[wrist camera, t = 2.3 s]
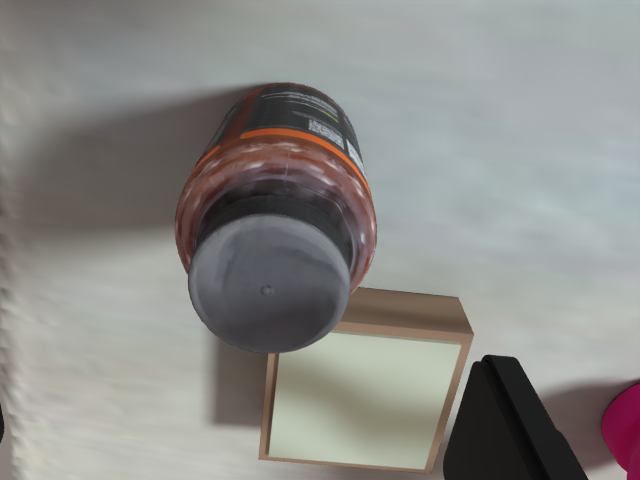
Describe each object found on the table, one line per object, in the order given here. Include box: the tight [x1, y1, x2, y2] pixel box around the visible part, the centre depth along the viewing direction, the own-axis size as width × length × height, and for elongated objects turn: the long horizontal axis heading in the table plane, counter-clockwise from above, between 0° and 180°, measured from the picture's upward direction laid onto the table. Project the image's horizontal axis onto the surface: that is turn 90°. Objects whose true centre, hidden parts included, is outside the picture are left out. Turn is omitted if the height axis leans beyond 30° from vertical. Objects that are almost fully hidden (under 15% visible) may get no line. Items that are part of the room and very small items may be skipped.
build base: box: [259, 287, 474, 474], centre depth 26 cm, size 9×9×3 cm
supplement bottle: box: [175, 83, 377, 354], centre depth 18 cm, size 6×6×11 cm
